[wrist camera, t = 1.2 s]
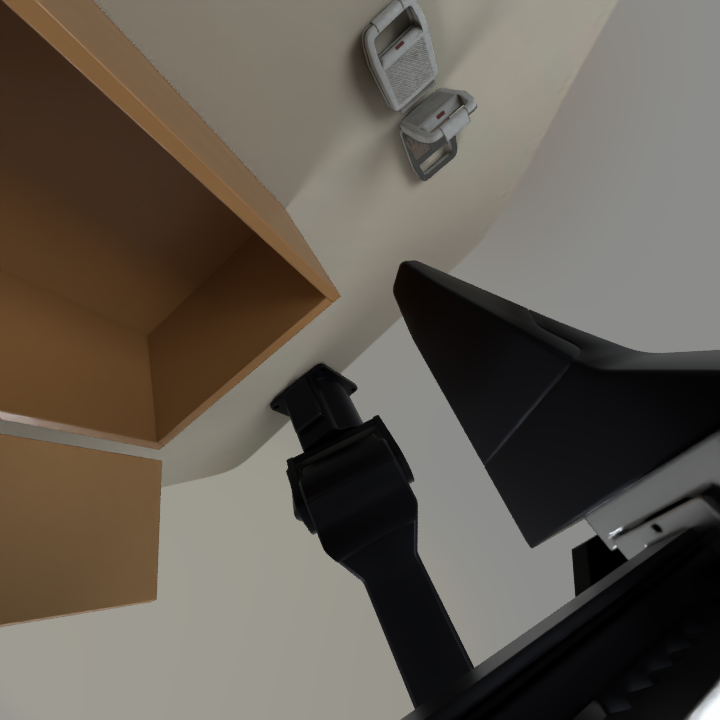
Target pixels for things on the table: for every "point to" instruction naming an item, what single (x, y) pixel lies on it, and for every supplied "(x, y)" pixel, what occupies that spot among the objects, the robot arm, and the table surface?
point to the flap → (75, 530)
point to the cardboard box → (128, 240)
